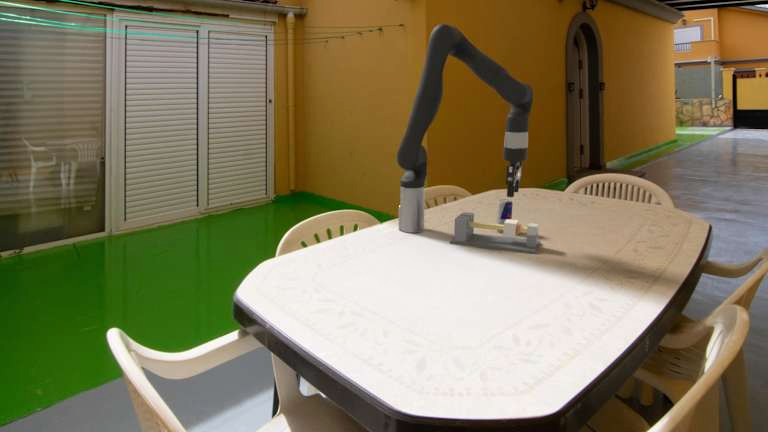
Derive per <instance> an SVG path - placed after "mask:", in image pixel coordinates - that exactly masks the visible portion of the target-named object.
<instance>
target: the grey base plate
mask: <svg viewBox="0 0 768 432" xmlns="http://www.w3.org/2000/svg"><path fill="white" fill-rule="evenodd" d="M526 239H527V238H520V237H519V238H518V237H516V238H509V237H503V235H493V234H492V235H491V234H483V233H475V232H473V235H472V236H471V237H470V238H469V239H468V240H467V241H466V242H461V241H454V236H453V237H452V238H451V239H449V244H453V245H459V246H460V245H461V246H469V247H476V248H477V247H478V248H483V249H491V250H492V249H493V250H501V251H509V252H515V253H516V252H517V253H526V254H533V255H535V254H536V253H537V251H538V249H539V247H540V244H541V240H538V242H537V245H536V247H535V248H534V247H526Z"/></svg>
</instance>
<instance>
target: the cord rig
mask: <svg viewBox="0 0 768 432" xmlns="http://www.w3.org/2000/svg"><path fill="white" fill-rule="evenodd" d="M539 225H540V224H539V223H531V222H529V223H528V225H527V227H526V226H522V224H521V223H518V226H517V227H516V232H517V234H518V235H520V234H521V233H523V234H526V238H525V239H526V247H534V248H535V247H536V245H537V242H538V239H539ZM474 228H476V229H485V230H486V229H487V230H492V231H493V230H494V231H497V230H502V231H504V225H499V224H497V223H489V222H487V223H486V222H476V221H475V212H470V211H462V212H461V213H460V214H459V215H458V216H456V217H455V218H454V233H453V234H454V236H453V237H454V241H461V242H466V241H467V240H468V239H469V238H470V237H471V236H472V235H473V233H475V232H474V231H475V230H474Z"/></svg>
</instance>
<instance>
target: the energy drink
mask: <svg viewBox="0 0 768 432" xmlns="http://www.w3.org/2000/svg"><path fill="white" fill-rule="evenodd" d="M496 214H497V216H496V224H499V225H504V222H505V221H506V220H507V219H510V220H513V219H512V217H513V200H512V199H506V198H505V199H498V202H497V211H496ZM496 232H497V233H499V234H503V231H502V230H496Z"/></svg>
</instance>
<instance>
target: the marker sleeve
mask: <svg viewBox="0 0 768 432" xmlns="http://www.w3.org/2000/svg"><path fill="white" fill-rule="evenodd" d="M518 225H519V219H512V220H510V219H507V220H506V221H505V222H504V231H503V233H502V236H503V237H509V238H517V236H518V235H519V234H517V232H516V227H517V226H518Z"/></svg>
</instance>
